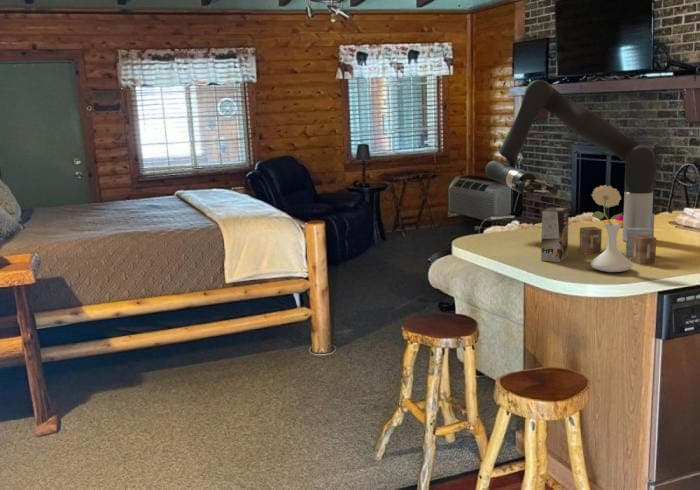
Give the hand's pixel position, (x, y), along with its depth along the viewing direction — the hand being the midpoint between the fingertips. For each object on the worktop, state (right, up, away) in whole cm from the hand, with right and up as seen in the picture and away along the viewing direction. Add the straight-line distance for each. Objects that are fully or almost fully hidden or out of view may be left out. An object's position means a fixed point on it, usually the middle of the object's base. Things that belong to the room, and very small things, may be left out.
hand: (545, 191), depth 221 cm
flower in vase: (+12, -25, -24) cm, 37 cm away
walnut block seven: (+15, -20, 0) cm, 25 cm away
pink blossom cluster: (+43, -11, +46) cm, 64 cm away
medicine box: (+28, -21, -7) cm, 36 cm away
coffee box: (+1, -22, -7) cm, 24 cm away
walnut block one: (+25, -23, -16) cm, 38 cm away
